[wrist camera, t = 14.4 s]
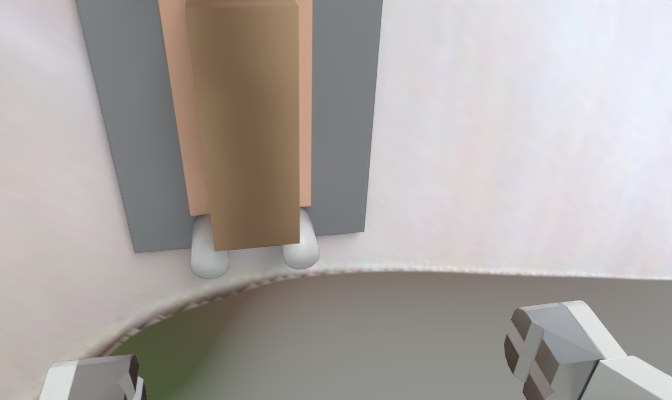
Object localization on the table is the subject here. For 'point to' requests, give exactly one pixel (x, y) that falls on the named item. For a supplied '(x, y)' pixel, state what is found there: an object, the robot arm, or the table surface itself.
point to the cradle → (184, 133)
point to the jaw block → (248, 117)
